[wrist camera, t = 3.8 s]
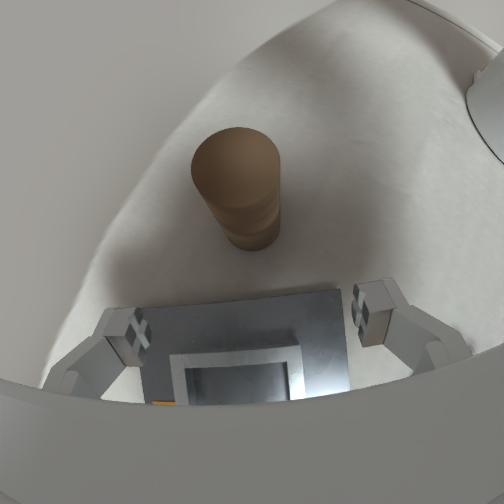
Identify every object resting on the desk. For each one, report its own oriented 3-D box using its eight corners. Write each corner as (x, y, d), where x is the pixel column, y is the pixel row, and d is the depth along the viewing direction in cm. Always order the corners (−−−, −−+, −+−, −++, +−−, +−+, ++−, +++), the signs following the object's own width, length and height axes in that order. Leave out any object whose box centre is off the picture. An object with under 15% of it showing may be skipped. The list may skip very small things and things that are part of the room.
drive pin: (276, 195, 24) (273, 122, 14) (283, 247, 23) (286, 198, 13) (223, 202, 24) (190, 134, 15) (227, 254, 23) (192, 210, 14)
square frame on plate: (337, 289, 22) (346, 285, 19) (348, 470, 18) (356, 487, 16) (139, 309, 23) (122, 307, 20) (166, 478, 20) (154, 493, 17)
